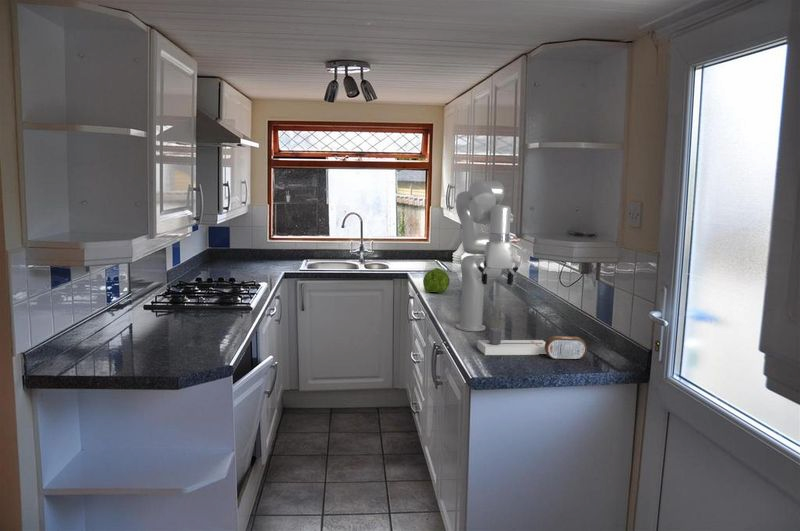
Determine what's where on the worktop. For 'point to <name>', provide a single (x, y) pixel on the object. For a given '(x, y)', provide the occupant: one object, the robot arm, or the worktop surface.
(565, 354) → the tin
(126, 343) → the worktop surface
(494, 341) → the fader tab
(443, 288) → the lettuce
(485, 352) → the console
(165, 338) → the worktop surface
